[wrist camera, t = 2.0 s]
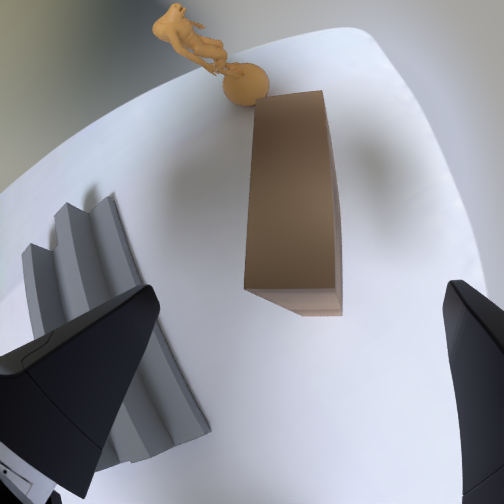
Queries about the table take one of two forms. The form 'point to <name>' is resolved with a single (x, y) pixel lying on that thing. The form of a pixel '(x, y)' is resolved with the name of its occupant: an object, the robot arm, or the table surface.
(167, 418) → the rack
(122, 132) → the table surface
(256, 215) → the plaque
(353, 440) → the table surface
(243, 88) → the figurine
